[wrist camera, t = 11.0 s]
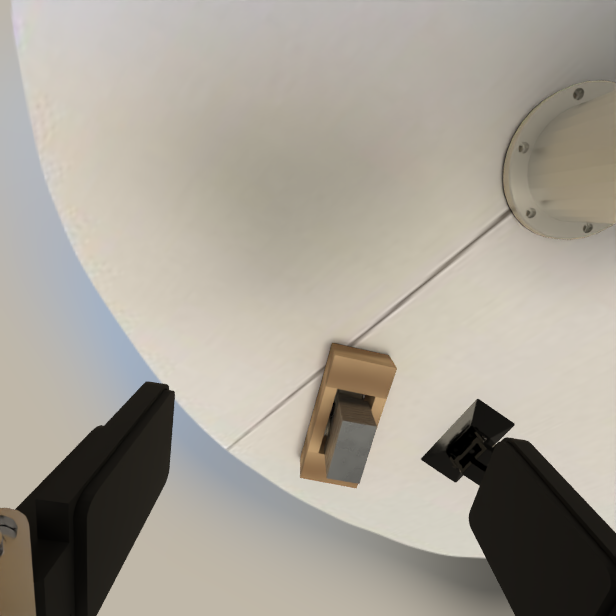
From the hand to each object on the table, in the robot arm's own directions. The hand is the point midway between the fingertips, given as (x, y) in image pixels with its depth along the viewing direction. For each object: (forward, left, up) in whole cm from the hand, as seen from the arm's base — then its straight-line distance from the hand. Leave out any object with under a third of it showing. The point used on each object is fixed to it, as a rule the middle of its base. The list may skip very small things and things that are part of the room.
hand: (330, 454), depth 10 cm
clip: (-6, +12, -24) cm, 28 cm away
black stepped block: (-21, +13, -25) cm, 35 cm away
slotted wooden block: (-7, +12, -24) cm, 28 cm away
